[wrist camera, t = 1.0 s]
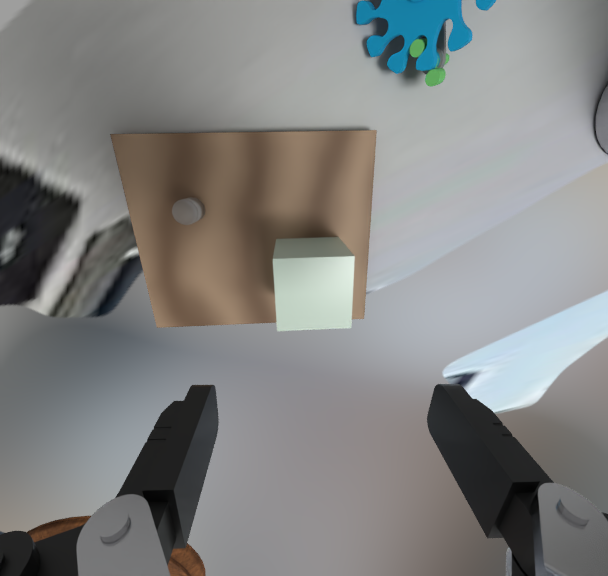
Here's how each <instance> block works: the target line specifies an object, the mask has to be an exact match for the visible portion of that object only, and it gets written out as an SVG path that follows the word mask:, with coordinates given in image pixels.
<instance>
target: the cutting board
mask: <svg viewBox="0 0 608 576" xmlns="http://www.w3.org/2000/svg"><path fill="white" fill-rule="evenodd" d="M90 517H91V516H79V517H69V518H65V519H59V520H55V521H51V522H48V523H45V524H42V525H40V526H38V527H35V528H33V529H31V530H29V531H28V532H26V533H28V534H29V535H30V536H31V537H32V539H33V541H34V542H37V541H39V540H42V539H45V538H48V537H51V536H54V535H56V534H59V533H62V532H65V531H68V530H71V529H74V528H76V527H78V526H81V525H83V524H85V523H86V522H87V521H88V519H89V518H90ZM168 570H169V573H170V576H206V575H205V567H204V564H203V561H202V559H201V558H200V556H199V554H198V553H197V552H196V551H195V550H194V549H193V548H192V547H191V546H190V545H189V544H188V543H187V545H186V548H180V549H173V550H172V554H171V557H170V560H169V563H168Z"/></svg>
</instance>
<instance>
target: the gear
mask: <svg viewBox="0 0 608 576" xmlns="http://www.w3.org/2000/svg"><path fill="white" fill-rule="evenodd" d="M461 1H462V0H382V1H381V4H380V6H379V7H378V8H377V9H376V8H375V7H374V5H373V4H372V3H371V2H369V1H360V2H359V3H358V5H357V12H356V21H357V24H360V25H366V24H369V23H370V22H371V21H372V20H374V19H376V18H379V17H380V18H384V19H386V20H387V22H388V31H387V33H386V34H385V35H384V36H381V35H373V36H371V37H369V39H368V40H367V48H368V51H369V54H370V56H371V57H377V56H380V55H381V54H382V53H383V51H384V49H385V47H386V46H387V44H388V43H389V42H390V41H391V40H393V39H394V38H396V37H398V36H400V35H402V36H403V37H404V41H405V42H404V47H403V48H402V50H401V51H400V52H397V53H395V54H393V55H392V56H390V58H389V59H388V62H387V66H388V67H389V69H390V70H392V71H393V72H395V73H396V74H398V73H402V72H403V71H404V70H405V68H406V66H407V61H408V57H409V54H411V56H412V57H418V59H417V61H416V69H417V70H421V71H423V72H424V73H425V74H426V78H425V82H426V84H427V85H428V86H435V85H438V84H440V83H441V82H442V81H443V80H444V78H445V70H444V69H443V66H444V65H445V64H446V63H447V62H448V61H449V55H448V54H446V20H448V19H451V20H452V22H453V29H452V32H451V34H450V37H449V40H448V48H449V50H450V51H456V50H459V49H461V48H462V47H464V46H465V45H467V44H468V43H469V42H470V41H471V40H472V31H471V30H470V29H469V28H468V27H467V26H466V24H465V23H464V21H463V18H462V11H461ZM495 1H496V0H476V5H477V7H478V8H479V9H481V10H488V9H489V8H490V7H491V6H492V5H493V4H494V3H495ZM420 38H421V39H420Z"/></svg>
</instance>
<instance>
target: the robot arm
mask: <svg viewBox="0 0 608 576" xmlns="http://www.w3.org/2000/svg"><path fill="white" fill-rule="evenodd" d="M595 128H596V134H597V139H598V141H599V143H600V145H601V147H602V148H603V149H604V150H605V151H606V153H608V85H607V87H606V88H605V90H604V92H603V95H602V97H601V100H600V102H599V105H598V110H597V114H596V127H595ZM427 423H428V428H429V431H430V434H431V436H432V437H433V440H434V441H435V443H436V445H437V447H438V448H439V450H440V452H441V454H442V456H443V458H444V460H445V461H446V463H447V465H448V467H449V469H450V470H451V472H452V474H453V476H454V478H455V480H456V481H457V483H458V485H459V487H460V489H461V491H462V493H463V494H464V496H465V498H466V500H467V502H468V504H469V505H470V507H471V509H472V511H473V513H474V515H475V516H476V518H477V520H478V522H479V524H480V526H481V527H482V529H483V531H484V533H485V535H486V537H487V538H504V539H505V541H506V542H507V544H508V546H509V548H508V550H507V554H506V576H608V514H606V513H602V512H600V510H599V509H598V508H597V507H596V506H595V505H594V504H593V503H591V502H590V501H589V500H588V499H586V498H585V497H584V496H582V495H581V494H579V493H577V492H576V491H574V490H572V489H570V488H568V487H566V486H563V485H560V484H556V483H554V482H553V481H552V480H551V479H550V478H549V476H548V475H547V474H546V473H545V472H544V471H543V470H542V468H541V467H540V466H539V465H538V464H537V463H536V461H535V460H534V459H533V458H532V457H531V456H530V455H529V453H528V452H527V451H526V450H525V449H524V448H523V446H522V445H521V444H520V443H519V442H518V440H517V439H516V438H515V437H513V436H512V434H511V432H510V431H509V430H508V429H507V428H506V427H505V426H503V424H502V422H501V421H500V420H499V418H498V417H497V416H496V415H495V414H494V413H493V411H492V410H491V409H489V408H488V407H486V406H485V405H484V404H482V403H481V402H480V401H478V400H477V399H472V398H471V397H470V395H469V394H468V393H467V392H466V390H465V389H464V388H463V387H462V386H461V385H459V384H438V385H436V386H435V388H434V392H433V396H432V400H431V404H430V408H429V412H428V416H427ZM217 431H218V408H217V399H216V390H215V386H214V385H192V386H191V387H190V389H189V391H188V393H187V396H186V397H185V400H184V401H174V402H173V403H172V404H170V406H168V407H167V408H166V409H165V410H164V411H163V412H162V413H161V415H160V417H159V419H158V421H157V422H156V424H155V426H154V430H152V432H151V434H150V436H149V437H148V440H147V442H146V443H145V445H144V447H143V448H142V450H141V452H140V454H139V456H138V458H137V460H136V461H135V464H134V465H133V467H132V469H131V471H130V473H129V474H128V476H127V478H126V480H125V482H124V484H123V486H122V488H121V489H120V491H119V493H118V494H117V496H116V498H115V499H113V500H111V501H109V502H107V503H106V504H105V505H103V506H102V507H101V508H99V509H98V510H97V511H96V512H95V513H94V514H93V515H92V516H91V517H90V518H89V519H88V521H87V522H86V523H85V524H83V525H81V526H78V527H76V528H74V529H71V530H68V531H65V532H62V533H59V534H56V535H54V536H51V537H48V538H45V539H42V540H39V541H37V542H34V541H33V539H32V537H31V536H30V535H29V534H28V533H26V532H23V531H12V532H8V533H4V534H1V535H0V576H170V573H169V570H168V563H169V560H170V557H171V554H172V550H173V549H180V548H186V545H187V541H188V538H189V534H190V530H191V527H192V523H193V520H194V516H195V512H196V509H197V505H198V502H199V498H200V494H201V491H202V487H203V484H204V480H205V476H206V473H207V469H208V465H209V462H210V458H211V455H212V451H213V448H214V444H215V440H216V437H217Z"/></svg>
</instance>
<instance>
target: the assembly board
mask: <svg viewBox="0 0 608 576" xmlns="http://www.w3.org/2000/svg"><path fill="white" fill-rule="evenodd" d="M376 131H377V130H366V131H297V132H228V133H158V134H110V135H111V139H112V143H113V147H114V151H115V155H116V160H117V164H118V168H119V172H120V176H121V180H122V184H123V189H124V193H125V197H126V201H127V205H128V209H129V213H130V218H131V222H132V226H133V230H134V234H135V238H136V242H137V247H138V251H139V255H140V259H141V263H142V267H143V271H144V276H145V279H146V283H147V288H148V292H149V296H150V300H151V305H152V309H153V313H154V317H155V321H156V325H157V328H158V327H159V328H160V327H183V326H205V325H229V324H251V323H252V324H253V323H276V322H277V321H276V305H275V289H274V273H273V254H274V249H275V243H276V239H287V238H320V237H339V238H340V239H341V240H342V241H343V243H344V244H345V245H346V246H347V247H348V249H349V250H350V251H351V252H352V253H353V255H354V256H355V261H354V282H353V303H352V319H364V312H365V297H366V282H367V267H368V252H369V237H370V222H371V207H372V192H373V177H374V162H375V147H376Z"/></svg>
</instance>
